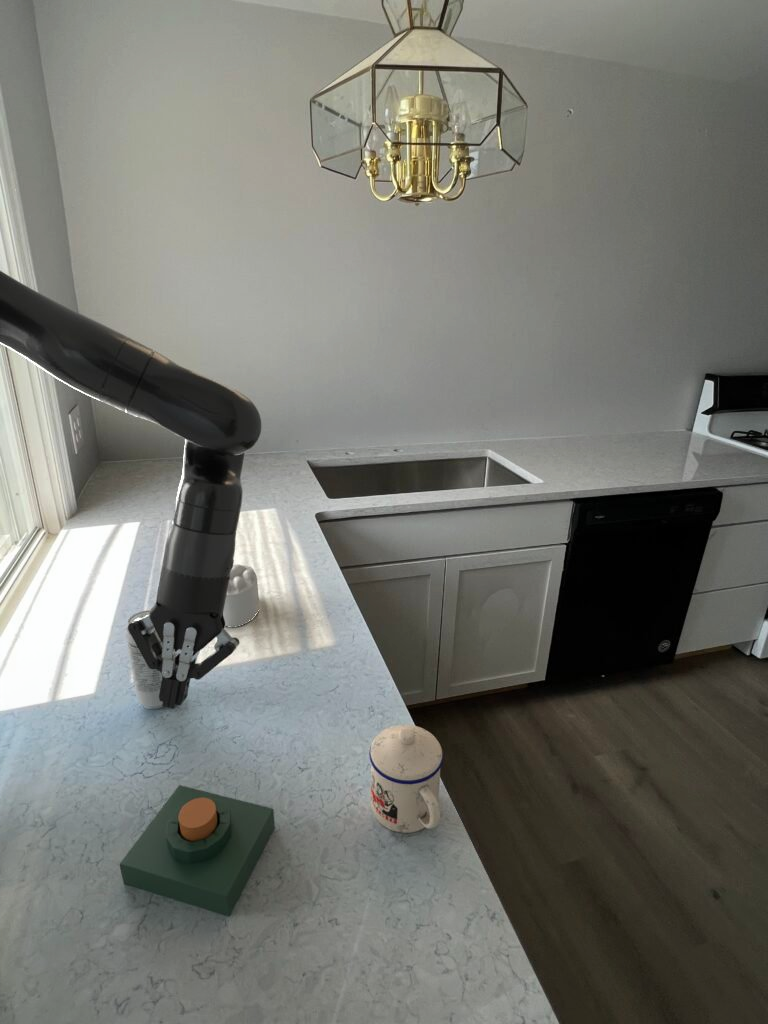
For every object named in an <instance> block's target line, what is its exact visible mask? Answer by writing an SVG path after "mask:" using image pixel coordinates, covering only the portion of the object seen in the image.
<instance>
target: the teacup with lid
mask: <svg viewBox="0 0 768 1024" xmlns="http://www.w3.org/2000/svg"><path fill="white" fill-rule="evenodd" d="M368 754H369V760H370V807H371V811H372V814H373V815H374V817H375V819H376V820H377V821H378V822H379V824H381V825H382V827H385V828H387V829H388V830H390V831H393V832H397V833H403V834H410V833H415V832H419V831H421V830H424V829H425V828H426V829H428V830H429V829H430V830H431V829H434V828H436V827H437V826H438V825H439V824H440V821H441V809H440V806H439V796H440V781H441V767H442V765H443V762H444V753H443V749H442V746H441V744H440V742H439V740H438V739H437V738H436V736H434V734H432V733H431V732H430V731H428V730H427V729H425V728H422V727H420V726H417V725H412V724H397V725H396V724H395V725H392V726H389V727H387V728H384V729H383V730H382V731H380V732H379V733H378V734H377V735H376V736H375V738H374V739H373V741H372V743H371V745H370V747H369V752H368Z"/></svg>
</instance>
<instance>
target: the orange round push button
mask: <svg viewBox="0 0 768 1024" xmlns="http://www.w3.org/2000/svg"><path fill="white" fill-rule="evenodd" d="M179 824H180V830H181V834H182V836H183V837H184V838H185V839H186V840H189V841H199V840H203V839H205V838H207V837H208V836H210V835H211V834H212V833H213V832H214V830H215V828H216V826H217V813H216V806H215V803H214V802H213V801H212V800H210V799H208V798H197V799H193V800H191V801H189V802H188V803H187V804H185V805H184V806H183V808H182V809H181V811H180V813H179Z"/></svg>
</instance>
